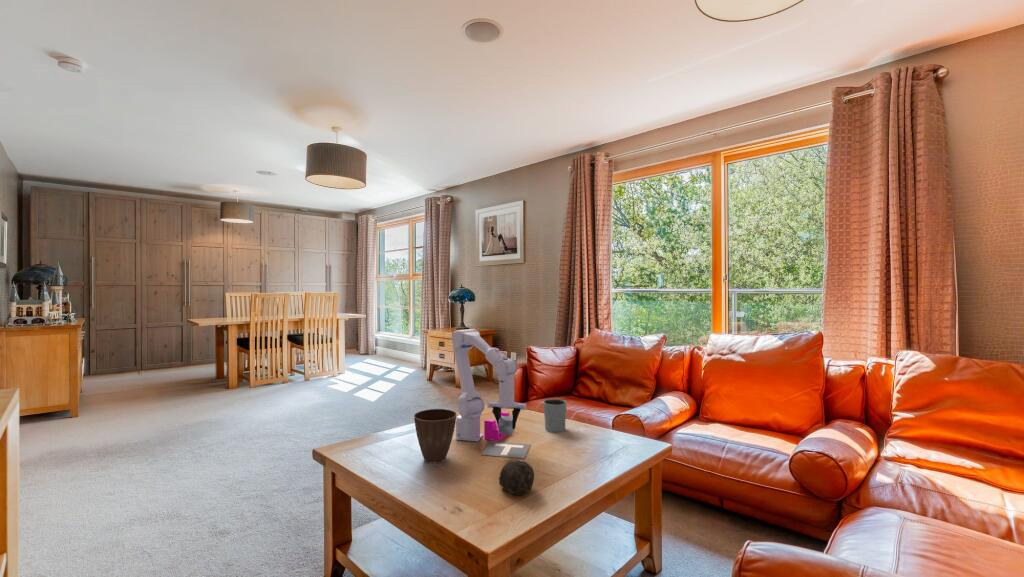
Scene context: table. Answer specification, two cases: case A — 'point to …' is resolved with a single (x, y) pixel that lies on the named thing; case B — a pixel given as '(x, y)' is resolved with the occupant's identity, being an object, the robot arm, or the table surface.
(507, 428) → the gray cube
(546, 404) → the gray cup
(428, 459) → the plant pot
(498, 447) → the board
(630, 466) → the table surface
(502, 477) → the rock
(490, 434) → the toy block
